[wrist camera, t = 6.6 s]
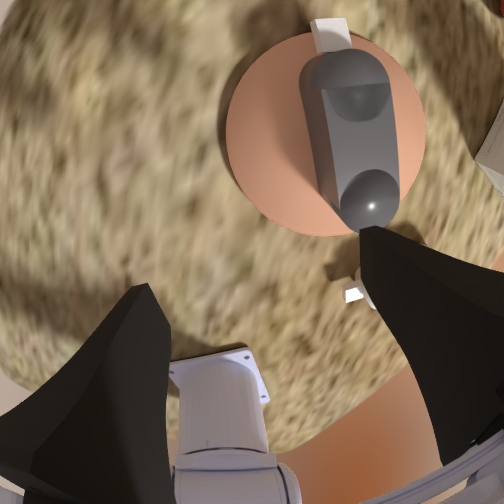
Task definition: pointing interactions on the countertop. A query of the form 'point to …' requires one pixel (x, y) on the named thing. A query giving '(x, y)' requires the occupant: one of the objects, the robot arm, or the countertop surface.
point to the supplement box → (494, 153)
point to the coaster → (303, 136)
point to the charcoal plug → (351, 128)
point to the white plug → (357, 289)
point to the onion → (502, 7)
